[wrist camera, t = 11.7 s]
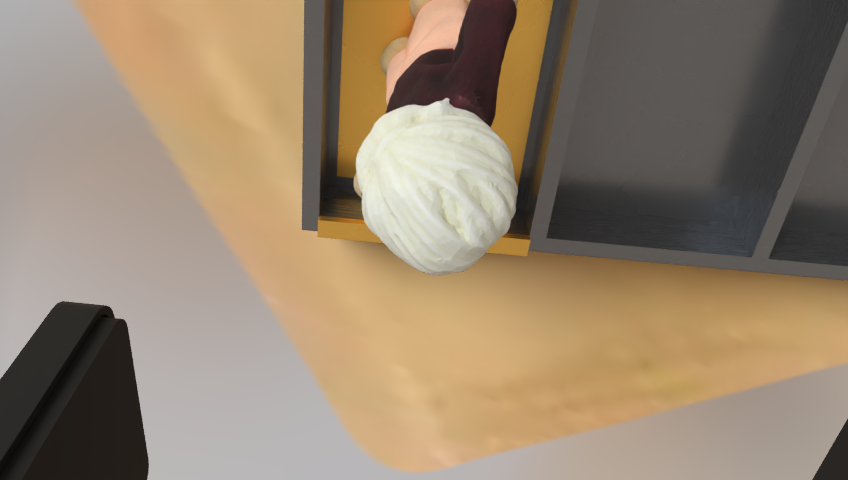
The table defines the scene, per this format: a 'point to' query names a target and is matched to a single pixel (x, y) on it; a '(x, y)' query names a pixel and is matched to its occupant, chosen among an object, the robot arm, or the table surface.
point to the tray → (624, 128)
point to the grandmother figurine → (441, 139)
